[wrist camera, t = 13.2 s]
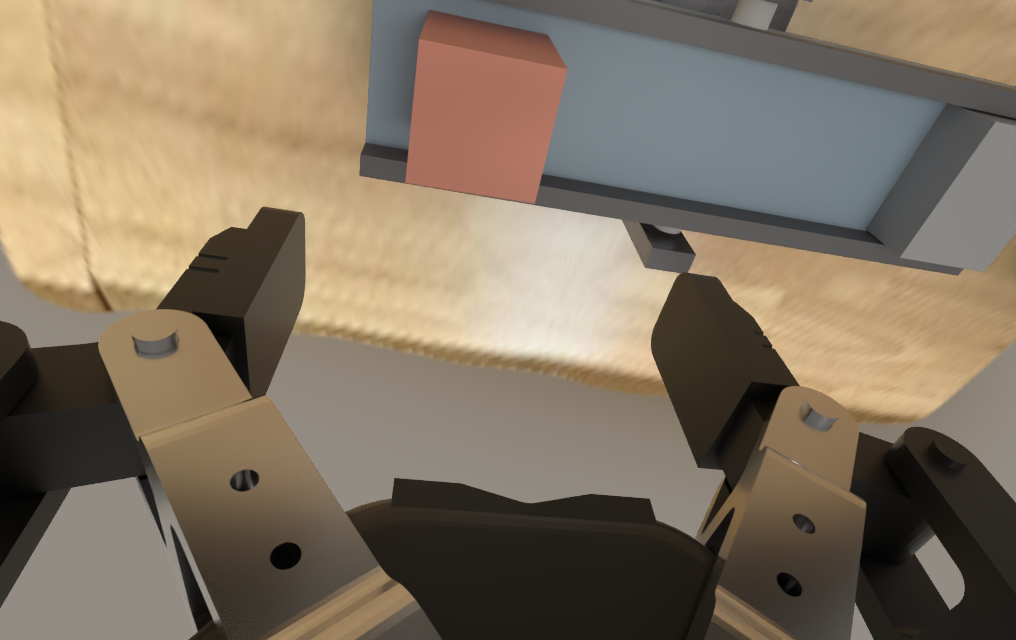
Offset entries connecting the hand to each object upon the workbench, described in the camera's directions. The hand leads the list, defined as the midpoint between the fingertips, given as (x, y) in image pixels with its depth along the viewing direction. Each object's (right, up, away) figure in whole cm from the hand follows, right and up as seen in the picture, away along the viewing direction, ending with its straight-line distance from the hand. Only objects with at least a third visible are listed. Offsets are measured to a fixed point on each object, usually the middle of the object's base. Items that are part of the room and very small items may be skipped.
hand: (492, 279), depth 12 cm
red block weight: (-1, +10, +13) cm, 16 cm away
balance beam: (+10, +9, +15) cm, 20 cm away
